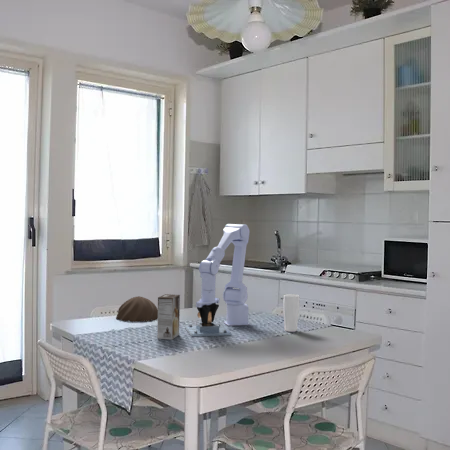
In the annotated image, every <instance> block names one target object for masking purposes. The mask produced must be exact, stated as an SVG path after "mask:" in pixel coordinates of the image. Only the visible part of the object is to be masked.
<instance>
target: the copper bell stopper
mask: <svg viewBox="0 0 450 450" xmlns="http://www.w3.org/2000/svg"><path fill="white" fill-rule="evenodd" d="M197 318H198V319H201V316H200V313H199V311H198V312H197ZM201 323H202V322H201ZM202 326H212V311H209V314H208V322H207V324H203V323H202Z"/></svg>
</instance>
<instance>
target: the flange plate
mask: <svg viewBox="0 0 450 450" xmlns="http://www.w3.org/2000/svg"><path fill="white" fill-rule="evenodd" d="M184 329H185V330H186V331H187V333H188V334H189V335H190V337H218V336H219V337H222V336H223V337H225V336H226V337H227V336H232V332H231V331H230V330H229V329H228V328H226V326H224V325H223V324H221V323H219V324H218V323H217V322H214V321H213V322H212V326H202V322H196V323H195V325H193V324H189V325H185V326H184Z"/></svg>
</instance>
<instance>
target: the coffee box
mask: <svg viewBox="0 0 450 450" xmlns="http://www.w3.org/2000/svg"><path fill="white" fill-rule="evenodd" d="M180 296H181V294H171V293H169V294H168V293H167V294H165V293H164V294H163V295H161V296H159V297H157V309H158V319H157V333H156V334H157V335H156V336H157V339H158V340H170V341H171V340H174V339H176V338H177V337H178V336H179V335H180V310H181V308H180V304H181V303H180V301H181V300H180V299H181V298H180Z"/></svg>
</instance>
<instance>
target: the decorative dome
mask: <svg viewBox="0 0 450 450" xmlns="http://www.w3.org/2000/svg"><path fill="white" fill-rule="evenodd" d="M115 319H116V320H120V321H122V322H132V323H137V322H149V321H156V320H157V321H158V306H156V305H155V303H154V302H153V301H151V300H150V299H148V298H146V297H143V296H134V297H131V298H129V299H128V300H126V301H124V302H123V303H122V304H121V305H120V306H119V308H118V311H117V314H116V317H115Z"/></svg>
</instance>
